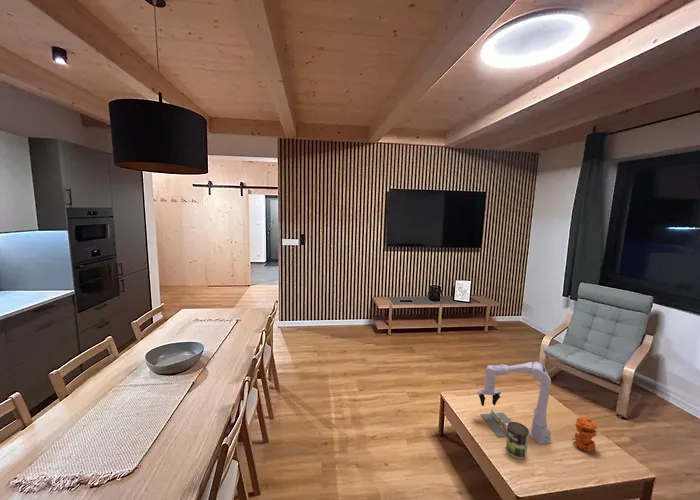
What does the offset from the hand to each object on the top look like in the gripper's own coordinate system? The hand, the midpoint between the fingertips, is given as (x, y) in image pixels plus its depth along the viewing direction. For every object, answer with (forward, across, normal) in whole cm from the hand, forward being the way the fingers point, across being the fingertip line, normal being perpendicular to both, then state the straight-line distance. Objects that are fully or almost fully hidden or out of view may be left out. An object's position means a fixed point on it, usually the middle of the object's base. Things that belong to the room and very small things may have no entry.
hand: (488, 404), depth 192 cm
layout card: (+10, -6, +5) cm, 13 cm away
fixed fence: (+10, -5, +10) cm, 15 cm away
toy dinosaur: (+10, -42, +27) cm, 51 cm away
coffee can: (+11, -2, +26) cm, 28 cm away
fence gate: (+10, -5, 0) cm, 11 cm away
